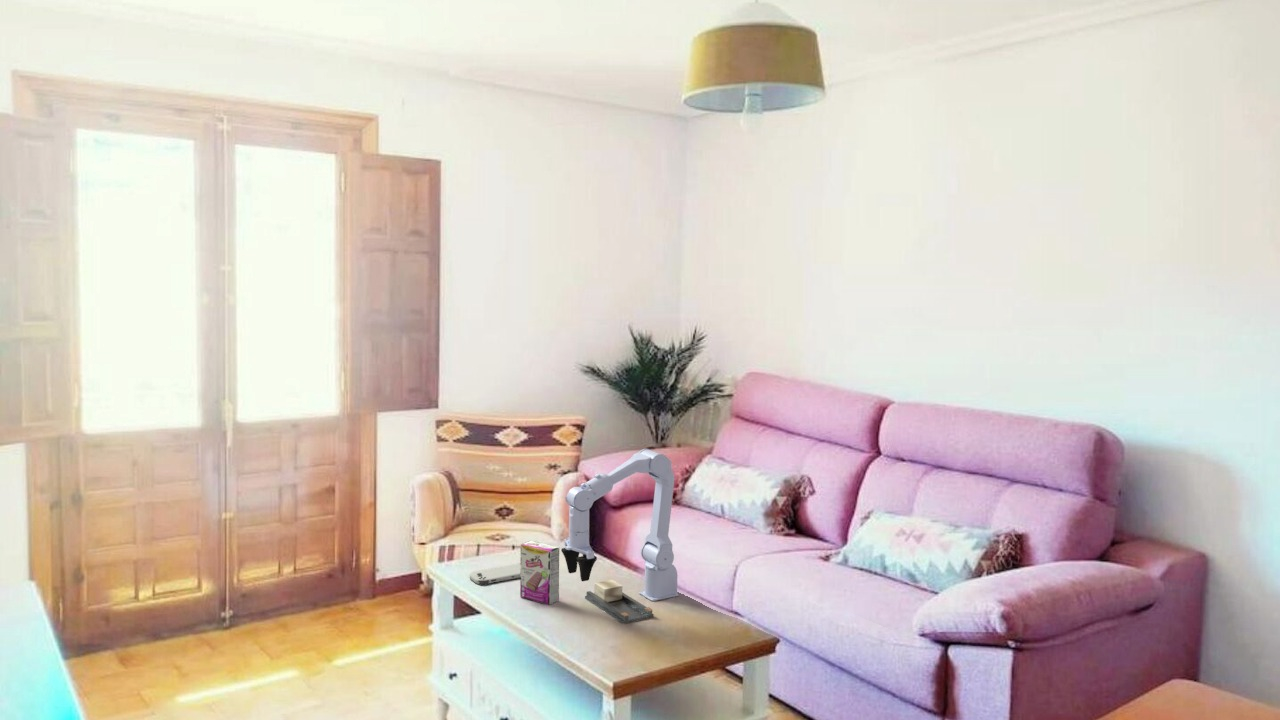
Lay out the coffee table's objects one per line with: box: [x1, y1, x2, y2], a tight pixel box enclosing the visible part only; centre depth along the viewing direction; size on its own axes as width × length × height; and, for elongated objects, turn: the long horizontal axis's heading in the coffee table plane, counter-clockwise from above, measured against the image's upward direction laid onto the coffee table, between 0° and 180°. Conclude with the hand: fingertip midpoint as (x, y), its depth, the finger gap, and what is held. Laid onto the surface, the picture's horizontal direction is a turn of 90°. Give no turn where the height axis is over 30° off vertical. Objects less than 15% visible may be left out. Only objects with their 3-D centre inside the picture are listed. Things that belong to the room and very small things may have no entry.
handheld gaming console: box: [469, 562, 521, 586], centre depth 285 cm, size 23×3×10 cm
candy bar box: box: [519, 540, 560, 606], centre depth 264 cm, size 11×5×16 cm, turn 58°
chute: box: [584, 590, 655, 625], centre depth 259 cm, size 10×22×2 cm, turn 32°
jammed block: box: [593, 579, 623, 602], centre depth 264 cm, size 6×6×4 cm
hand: (578, 576), depth 256 cm, fingers open, 7 cm apart
